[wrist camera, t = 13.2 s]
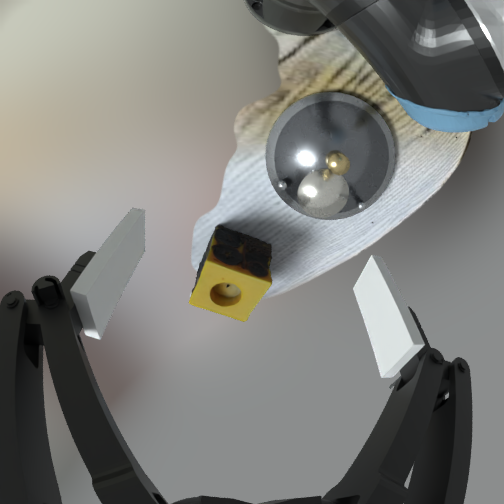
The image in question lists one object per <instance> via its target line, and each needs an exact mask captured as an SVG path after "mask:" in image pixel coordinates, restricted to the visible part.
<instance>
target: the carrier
mask: <svg viewBox="0 0 504 504" xmlns="http://www.w3.org/2000/svg"><path fill="white" fill-rule="evenodd" d="M394 165H395V146H394V141H393V137H392V134H391V132H390V130H389V128H388V125H387V124H386V122H385V121H384V119H383V118H382V116H381V115H380V114H379V113H378V112H377V111H376V110H375V109H374V108H373V107H371V106H370V105H369V104H367V103H366V102H364V101H363V100H361V99H359V98H356V97H354V96H351V95H348V94H343V93H336V92H322V93H316V94H312V95H308V96H306V97H304V98H301V99H299V100H297V101H296V102H294V103H293V104H291V105H290V106H289V107H288V108H286V109H285V110H284V111H283V112H282V113H281V115H280V116H279V117H278V118H277V120H276V121H275V123H274V125H273V127H272V129H271V131H270V133H269V136H268V139H267V145H266V166H267V171H268V175H269V178H270V181H271V183H272V185H273V187H274V189H275V191H276V192H277V193H278V195H279V196H280V197H281V199H282V200H283V201H284V202H285V203H286V204H288V205H289V206H290V207H291V208H293V209H294V210H296V211H298V212H299V213H301V214H304V215H306V216H309V217H312V218H316V219H322V220H336V219H342V218H347V217H350V216H353V215H355V214H358V213H360V212H362V211H363V210H365V209H367V208H368V207H369V206H371V205H372V204H373V203H374V202H375V201H376V200H377V199H378V198H379V197H380V196H381V195H382V193H383V192H384V191H385V189H386V187H387V186H388V184H389V181H390V179H391V177H392V174H393V170H394Z"/></svg>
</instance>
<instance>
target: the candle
mask: <svg viewBox="0 0 504 504" xmlns="http://www.w3.org/2000/svg"><path fill="white" fill-rule="evenodd" d="M271 248H272V247H271V244H267V243H265V242H263V241H260V240H259V239H256V238H253V237H251V236H248V235H245V234H242V233H239V232H237V231H233V230H230V229H227V228H225V227H223V226H219V225H217V226H216V227H215V231H214V233H213V234H212V237H211V239H210V241H209V243H208V247H207V249H206V252H205V253H204V255H203V259H202V261H201V263H200V264H199V269H198V272H197V277H196V283H195V287H194V288H193V290H192V294H191V298H190V300H189V303H190V304H191V305H193V306H196V307H199V308H203V309H206V310H210V311H212V312H215V313H218V314H222V315H225V316H228V317H231V318H234V319H237V320H240V321H243V322H244V321H247V319H248V317H249V315H250V313H251V312H252V311H253V309H254V308H255V306H256V305H257V303H258V302H259V301H260V299H261V298H262V297H263V295H264V294H265V293H266V291H267V290H268V289H269V288H270V286H271V284H272V278H271V272H270V270H269V266H270V262H271V259H272V256H271V252H272V251H271Z"/></svg>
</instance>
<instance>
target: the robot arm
mask: <svg viewBox="0 0 504 504" xmlns="http://www.w3.org/2000/svg"><path fill="white" fill-rule="evenodd" d="M244 2H245V4H246V7H247V8H248V10H249V11H250V13H251V14H252V15H253V16H254V17H255V18H256V19H257V20H258V21H260V22H261V23H262V24H265V25H266V26H268V27H270V28H272V29H274V30H277V31H279V32H282V33H286V34H291V35H298V36H312V35H318V34H323V33H326V32H328V31H331V30H333V29H334V28H337V29H338V30H339V31H340V32H341V33H342V34H343V35H344V36H345V37H346V38H347V39H348V40H349V41H350V42H351V43H352V44H353V45H354V47H355V48H356V49H357V50H358V51H359V52H360V53H361V54H362V56H363V57H364V58H365V59H366V60H367V61H368V63H369V64H370V65H371V66H372V68H373V69H374V70H375V71H376V73H377V74H378V75H379V76H380V78H381V79H382V80H383V82H384V83H385V87H386V88H387V90H388V91H389V92H390V94H391V95H393V96H394V97H395V98H396V99H397V100H398V101H399V103H400V104H401V105H402V107H403V108H404V110H405V111H406V112H407V114H408V115H409V116H410V117H411V118H412V119H413V120H415V121H417V122H418V123H419V124H421V125H423V126H425V127H427V128H430V129H433V130H437V131H442V132H468V131H474V130H477V129H481V128H484V127H486V126H488V122H495V121H497V120H498V119H499V118H500V117H501V116H502V114H503V112H504V0H244ZM357 12H358V13H357ZM354 14H355V15H354ZM346 19H347V20H346ZM144 252H145V210H142V209H136V208H132V209H131V210H130V212H128V214H127V215H126V216H125V217H124V219H123V220H122V221H121V222H120V223H119V225H118V226H117V227H116V228H115V229H114V231H113V232H112V233H111V234H110V236H109V237H108V238H107V239H106V241H105V242H104V243H103V245H102V246H101V247H100V249H99V250H98V251H97V253H96V252H92V251H88V252H86V253H85V254H83V255H82V256H80V257H79V259H78V260H77V261H76V263H75V265H73V267H72V268H71V271H69V272H68V273H67V275H66V277H65V278H64V279H63V280H62V282H61V283H60V281H59V279H58V278H56V277H55V276H50V275H49V276H44V277H41V278H39V279H38V280H37V281H36V282H35V283H34V285H33V286H32V294H33V296H34V299H35V300H25V298H24V296H23V294H22V293H21V292H20V291H11V292H9V293H8V294H6V295H5V296H4V297H3V299H2V301H1V304H0V504H62V502H61V496H60V492H59V487H58V483H57V480H56V476H55V471H54V467H53V463H52V458H51V452H50V447H49V441H48V434H47V427H46V418H45V408H44V394H43V346H44V347H45V351H46V356H47V360H48V364H49V368H50V372H51V376H52V379H53V383H54V387H55V390H56V393H57V396H58V400H59V403H60V405H61V408H62V411H63V414H64V417H65V419H66V422H67V425H68V427H69V430H70V432H71V435H72V437H73V439H74V442H75V444H76V446H77V448H78V451H79V453H80V455H81V457H82V459H83V461H84V463H85V465H86V467H87V469H88V471H89V473H90V475H91V477H92V485H93V487H94V490H95V492H96V494H97V496H98V498H99V499H100V501H101V503H102V504H168V503H167V502H166V500H165V499H164V498H163V496H162V495H161V494H160V492H159V491H158V490H157V488H156V487H155V486H154V484H153V483H152V482H151V480H150V479H149V478H148V477H147V475H146V474H145V473H144V471H143V470H142V468H141V466H140V465H139V463H138V462H137V460H136V459H135V457H134V456H133V454H132V452H131V450H130V448H129V447H128V445H127V443H126V441H125V440H124V438H123V436H122V434H121V432H120V431H119V429H118V427H117V425H116V423H115V421H114V419H113V417H112V415H111V413H110V411H109V409H108V407H107V404H106V402H105V400H104V398H103V395H102V393H101V391H100V389H99V386H98V384H97V382H96V379H95V377H94V374H93V371H92V369H91V366H90V363H89V361H88V358H87V355H86V352H85V349H84V346H83V343H82V340H81V337H80V335H79V333H80V331H81V329H82V328H83V329H84V332H85V334H86V335H87V336H90V337H93V338H96V339H101V337H102V335H103V333H104V330H105V328H106V326H107V324H108V322H109V320H110V318H111V316H112V313H113V311H114V309H115V307H116V305H117V303H118V301H119V299H120V297H121V295H122V293H123V291H124V289H125V287H126V285H127V283H128V281H129V279H130V278H131V276H132V274H133V272H134V270H135V268H136V266H137V265H138V263H139V261H140V259H141V258H142V255H143V254H144ZM353 290H354V293H355V296H356V299H357V301H358V304H359V307H360V310H361V313H362V315H363V319H364V322H365V325H366V328H367V331H368V334H369V337H370V341H371V344H372V347H373V350H374V354H375V357H376V361H377V364H378V368H379V371H380V375H381V377H382V378H384V377H393V376H394V375H395V374H397V373H398V372H399V371H400V373H401V376H400V377H399V378H398V379H397V380H396V381H395V382H394V383H393V384H392V385H391V386H390V387H389V388H391V387H393V386H394V389H393V391H392V393H391V395H390V397H389V400H388V402H387V404H386V406H385V408H384V410H383V412H382V414H381V416H380V418H379V420H378V422H377V424H376V425H375V427H374V429H373V431H372V433H371V434H370V436H369V438H368V440H367V441H366V443H365V445H364V446H363V448H362V450H361V451H360V453H359V454H358V456H357V458H356V459H355V461H354V462H353V464H352V466H351V467H350V468H349V470H348V471H347V473H346V474H345V476H344V477H343V479H342V480H341V481H340V482H339V483H338V484H337V485H336V486H335V487H333V488H332V489H331V490H330V491H329V492H328V493H327V494H326V495H325V496H324V497H323V498H322V499H321V496H315V497H306V498H294V499H284V500H274V501H269V502H264V503H259V504H403V503H404V504H463V503H464V499H465V493H466V488H467V482H468V475H469V467H470V458H471V445H472V392H471V377H470V369H469V366H468V364H467V362H466V361H465V360H464V359H462V358H460V357H458V358H456V359H455V360H454V361H453V362H452V363H451V362H448V361H445V360H444V358H443V356H442V354H441V353H440V352H439V351H438V350H436V349H434V348H431V347H430V345H429V343H428V340H427V338H426V336H425V334H424V331H423V329H422V328H421V325H420V323H419V322H418V319H417V316H416V314H415V313H414V312H413V311H412V309H411V308H410V307H408V306H407V304H406V302H405V300H404V298H403V296H402V294H401V292H400V290H399V288H398V286H397V285H396V283H395V281H394V279H393V277H392V275H391V273H390V271H389V270H388V268H387V266H386V264H385V262H384V261H383V259H382V257H379V256H374V255H371V257H370V259H369V261H368V263H367V265H366V266H365V268H364V270H363V272H362V274H361V275H360V277H359V279H358V281H357V283H356V284H355V286H354V288H353ZM448 392H449V398H447V399H446V400H445V395H446V394H447V393H448ZM414 461H415V462H414ZM413 464H414V466H413ZM412 466H413V471H412V475H411V479H410V483H409V487H408V489H407V488H406V487H404V483H405V481H406V479H407V477H408V475H409V473H410V470H411V468H412ZM173 504H252V503H247V502H244V501H240V500H236V499H230V498H219V497H209V496H199V497H193V498H187V499H183V500H180V501H177V502H174V503H173Z"/></svg>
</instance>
